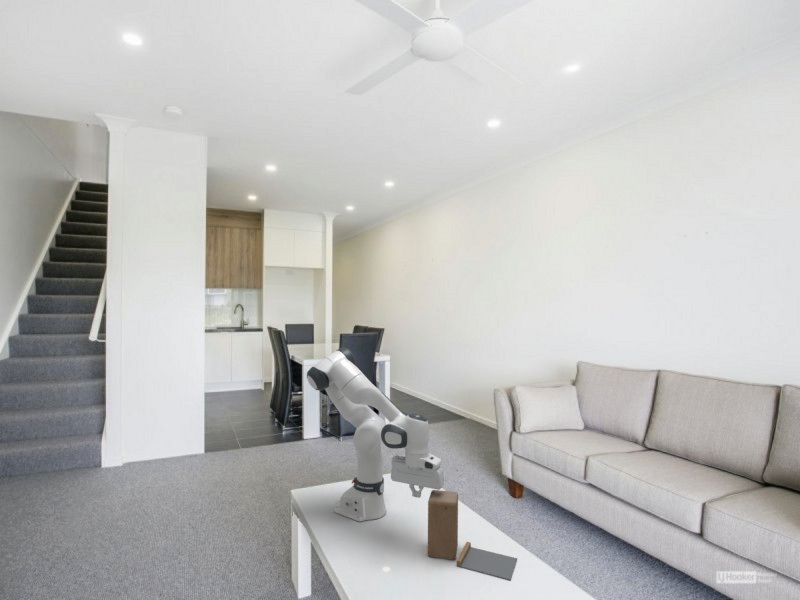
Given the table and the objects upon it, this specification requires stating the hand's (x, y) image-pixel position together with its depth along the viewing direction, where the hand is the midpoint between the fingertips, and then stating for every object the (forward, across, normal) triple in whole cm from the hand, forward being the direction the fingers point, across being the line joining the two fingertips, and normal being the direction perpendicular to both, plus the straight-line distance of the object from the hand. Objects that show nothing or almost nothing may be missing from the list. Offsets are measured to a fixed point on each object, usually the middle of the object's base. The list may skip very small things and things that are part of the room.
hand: (416, 496), depth 159 cm
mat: (+18, +26, 0) cm, 32 cm away
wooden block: (+18, +10, 0) cm, 21 cm away
